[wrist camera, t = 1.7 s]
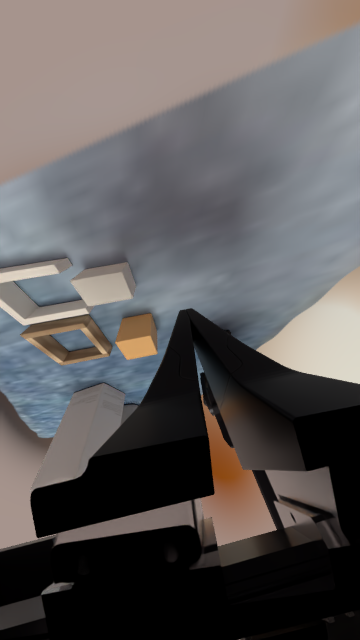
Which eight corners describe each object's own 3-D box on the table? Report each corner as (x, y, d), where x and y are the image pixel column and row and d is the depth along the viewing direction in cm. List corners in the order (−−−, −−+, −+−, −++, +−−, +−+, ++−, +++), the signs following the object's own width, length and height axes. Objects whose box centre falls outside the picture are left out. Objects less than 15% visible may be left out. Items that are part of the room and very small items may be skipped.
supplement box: (72, 392, 31) (24, 494, 20) (104, 381, 30) (73, 481, 19) (99, 402, 37) (74, 486, 26) (126, 393, 36) (113, 476, 25)
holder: (112, 346, 23) (109, 355, 22) (67, 355, 23) (61, 365, 21) (88, 314, 18) (82, 323, 17) (31, 324, 18) (19, 335, 17)
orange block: (156, 330, 23) (157, 353, 19) (131, 335, 22) (127, 359, 19) (151, 312, 20) (150, 335, 16) (122, 318, 20) (115, 342, 16)
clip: (96, 302, 17) (89, 313, 16) (38, 313, 17) (23, 325, 15) (67, 257, 14) (53, 264, 12) (-8, 269, 13) (-35, 278, 11)
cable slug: (136, 285, 17) (132, 298, 14) (98, 292, 17) (88, 306, 14) (127, 261, 15) (121, 271, 12) (85, 269, 15) (69, 280, 12)
